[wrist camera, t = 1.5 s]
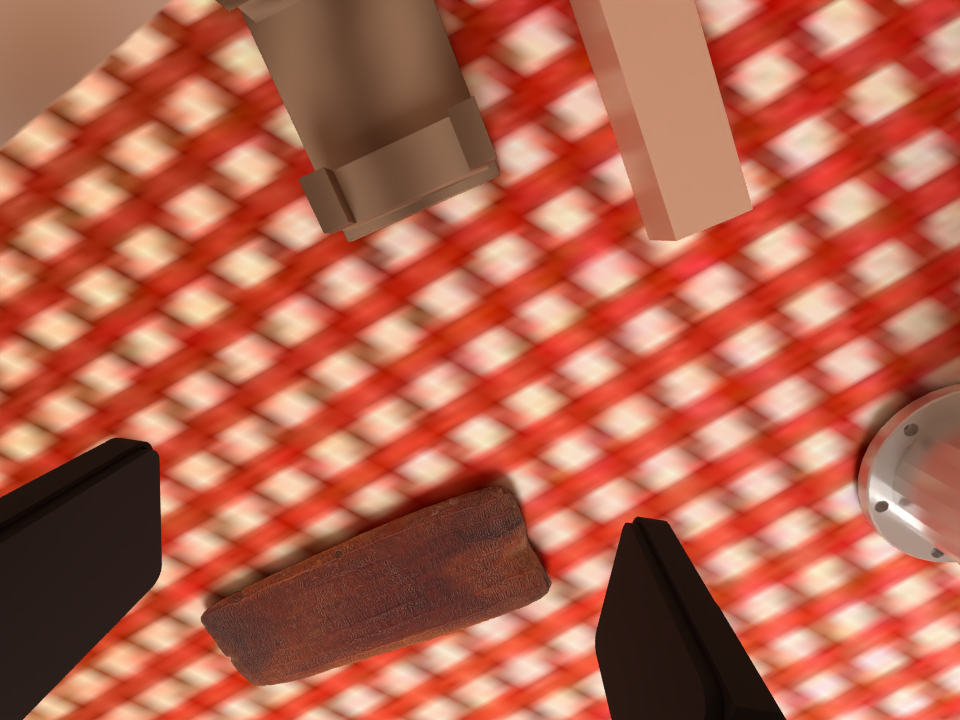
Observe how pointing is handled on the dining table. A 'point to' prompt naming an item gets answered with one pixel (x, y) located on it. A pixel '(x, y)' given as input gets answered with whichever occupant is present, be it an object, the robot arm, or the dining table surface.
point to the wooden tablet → (383, 590)
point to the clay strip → (665, 112)
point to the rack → (372, 106)
